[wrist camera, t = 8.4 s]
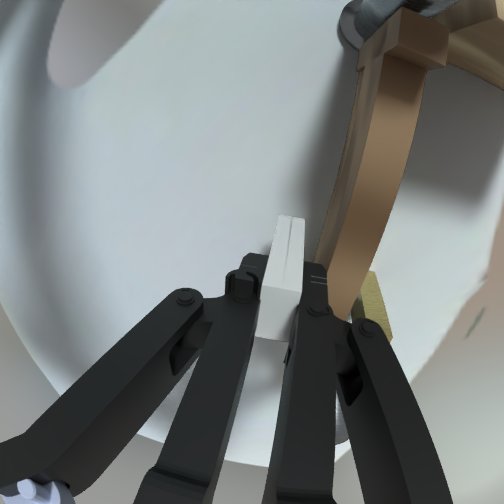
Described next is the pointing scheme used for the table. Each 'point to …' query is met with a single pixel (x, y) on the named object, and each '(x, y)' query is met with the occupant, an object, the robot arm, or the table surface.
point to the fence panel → (476, 38)
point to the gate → (376, 148)
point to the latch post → (371, 308)
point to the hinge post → (380, 16)
